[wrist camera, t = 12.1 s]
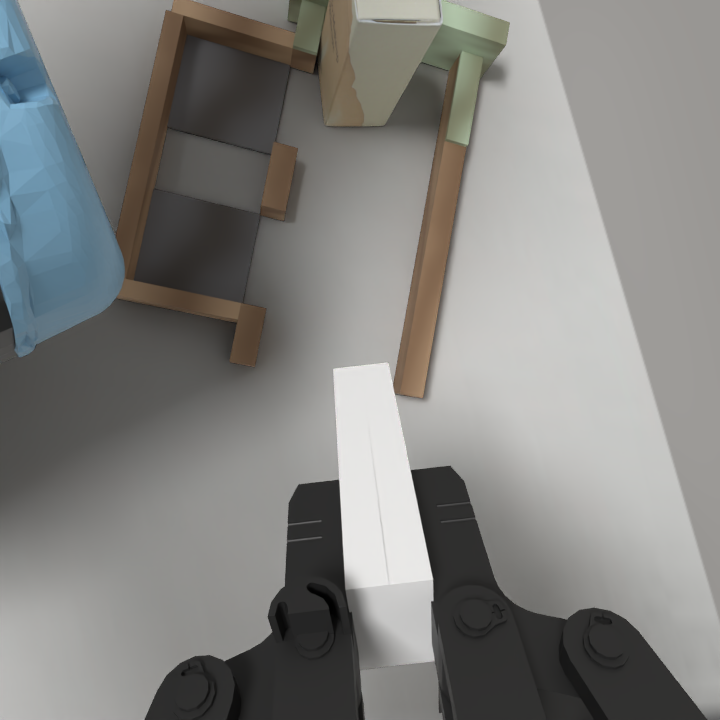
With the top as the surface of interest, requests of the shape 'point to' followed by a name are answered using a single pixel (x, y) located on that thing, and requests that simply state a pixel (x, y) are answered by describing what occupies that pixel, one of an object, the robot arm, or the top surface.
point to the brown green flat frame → (274, 164)
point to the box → (371, 56)
